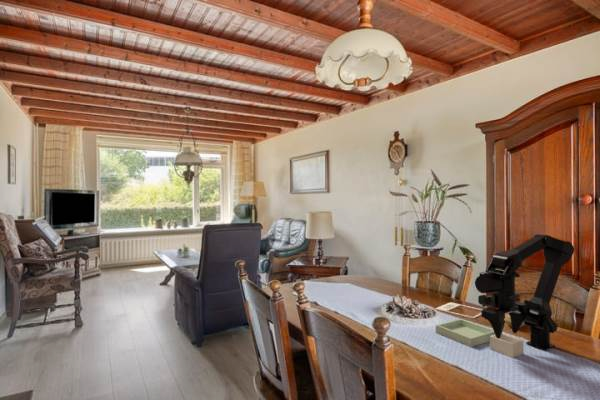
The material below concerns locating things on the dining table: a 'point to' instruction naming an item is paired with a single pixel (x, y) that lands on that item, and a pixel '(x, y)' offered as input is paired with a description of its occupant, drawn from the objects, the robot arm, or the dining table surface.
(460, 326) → the green tray
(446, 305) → the photo frame
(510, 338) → the small crate
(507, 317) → the pottery oil lamp
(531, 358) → the dining table surface
